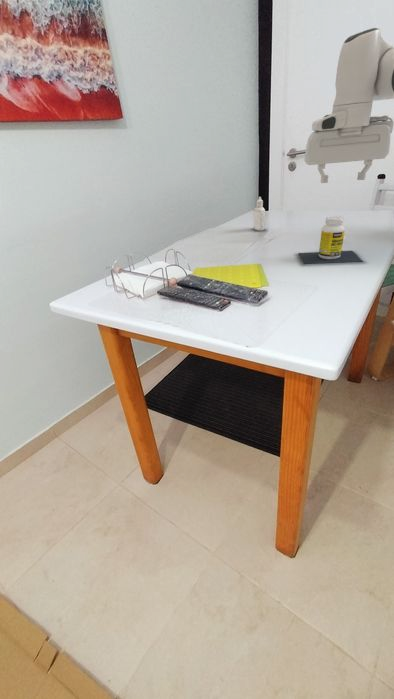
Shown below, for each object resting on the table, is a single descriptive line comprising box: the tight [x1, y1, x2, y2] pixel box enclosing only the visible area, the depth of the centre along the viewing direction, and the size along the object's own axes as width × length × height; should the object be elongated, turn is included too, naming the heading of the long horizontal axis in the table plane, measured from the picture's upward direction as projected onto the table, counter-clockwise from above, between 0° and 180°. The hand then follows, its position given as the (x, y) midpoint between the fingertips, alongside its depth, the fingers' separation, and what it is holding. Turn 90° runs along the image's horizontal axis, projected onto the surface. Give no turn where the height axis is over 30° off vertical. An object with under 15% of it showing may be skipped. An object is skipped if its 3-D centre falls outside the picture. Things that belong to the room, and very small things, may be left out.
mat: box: [298, 250, 363, 265], centre depth 100 cm, size 16×10×1 cm, turn 85°
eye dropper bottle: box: [253, 196, 266, 232], centre depth 131 cm, size 4×6×12 cm
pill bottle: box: [318, 215, 346, 259], centre depth 97 cm, size 6×6×11 cm
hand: (342, 181), depth 90 cm, fingers open, 8 cm apart
